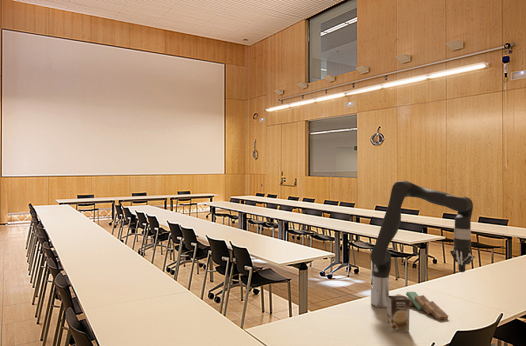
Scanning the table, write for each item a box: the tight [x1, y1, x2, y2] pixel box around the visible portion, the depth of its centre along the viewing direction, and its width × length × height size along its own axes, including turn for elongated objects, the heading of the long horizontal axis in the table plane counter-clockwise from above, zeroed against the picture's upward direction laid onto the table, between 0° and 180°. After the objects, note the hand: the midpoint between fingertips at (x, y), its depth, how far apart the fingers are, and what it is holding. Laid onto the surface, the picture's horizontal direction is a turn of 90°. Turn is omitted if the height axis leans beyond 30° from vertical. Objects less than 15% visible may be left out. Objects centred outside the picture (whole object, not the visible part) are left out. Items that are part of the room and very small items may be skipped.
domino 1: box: [394, 293, 414, 306], centre depth 219 cm, size 6×2×12 cm
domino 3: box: [415, 294, 433, 316], centre depth 208 cm, size 6×2×12 cm
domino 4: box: [423, 300, 449, 321], centre depth 201 cm, size 6×2×12 cm
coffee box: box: [386, 295, 411, 333], centre depth 184 cm, size 9×6×16 cm
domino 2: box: [405, 291, 425, 311], centre depth 213 cm, size 6×2×12 cm
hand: (461, 271), depth 184 cm, fingers closed
